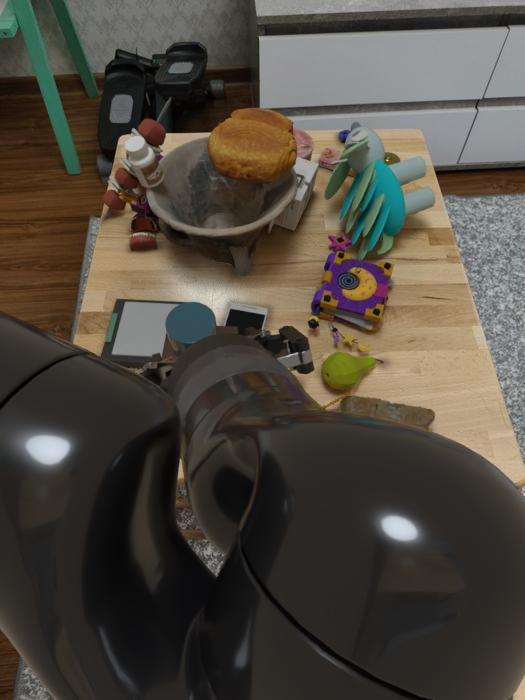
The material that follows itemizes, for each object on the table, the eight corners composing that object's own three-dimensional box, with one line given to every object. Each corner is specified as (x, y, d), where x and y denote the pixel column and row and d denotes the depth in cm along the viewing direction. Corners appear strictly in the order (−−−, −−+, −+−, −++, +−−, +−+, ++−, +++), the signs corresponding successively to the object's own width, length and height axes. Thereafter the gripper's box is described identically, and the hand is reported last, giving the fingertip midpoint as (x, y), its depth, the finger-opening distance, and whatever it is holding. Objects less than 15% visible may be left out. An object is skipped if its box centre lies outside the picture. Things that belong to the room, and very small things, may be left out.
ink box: (312, 195, 104) (289, 242, 97) (291, 188, 104) (267, 234, 97) (320, 163, 96) (296, 211, 89) (297, 155, 97) (271, 203, 90)
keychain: (315, 414, 77) (315, 418, 77) (311, 409, 77) (311, 413, 76) (355, 391, 74) (356, 395, 73) (351, 386, 74) (352, 390, 73)
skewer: (105, 224, 104) (175, 97, 93) (114, 236, 102) (187, 108, 91) (84, 217, 100) (155, 84, 89) (93, 230, 98) (167, 95, 87)
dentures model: (124, 238, 91) (127, 209, 96) (129, 253, 95) (132, 225, 99) (154, 237, 92) (156, 208, 96) (157, 253, 95) (159, 224, 100)
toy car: (139, 193, 88) (132, 217, 89) (177, 204, 99) (171, 226, 100) (117, 184, 90) (110, 208, 91) (157, 196, 101) (150, 217, 102)
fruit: (314, 350, 78) (370, 334, 83) (313, 383, 80) (368, 365, 86) (339, 366, 73) (397, 347, 78) (337, 400, 75) (393, 380, 81)
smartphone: (208, 375, 81) (208, 373, 80) (231, 304, 89) (230, 301, 88) (249, 384, 80) (249, 381, 80) (268, 311, 88) (268, 308, 87)
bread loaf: (197, 148, 76) (199, 185, 83) (293, 169, 75) (287, 204, 82) (219, 89, 82) (220, 128, 89) (308, 108, 81) (301, 146, 89)
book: (294, 337, 84) (299, 295, 74) (329, 238, 97) (336, 190, 86) (376, 359, 82) (392, 318, 72) (400, 255, 94) (417, 207, 84)
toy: (318, 158, 107) (326, 145, 109) (317, 165, 108) (325, 153, 111) (370, 174, 104) (377, 160, 106) (369, 181, 106) (375, 168, 108)
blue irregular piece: (334, 137, 114) (335, 127, 112) (348, 129, 115) (349, 119, 113) (362, 157, 110) (364, 147, 108) (376, 148, 112) (379, 138, 109)
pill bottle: (155, 191, 82) (137, 156, 75) (135, 185, 83) (116, 149, 77) (169, 173, 83) (153, 136, 76) (149, 167, 85) (131, 130, 78)
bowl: (223, 176, 107) (218, 113, 94) (319, 231, 98) (327, 169, 85) (133, 245, 96) (113, 184, 83) (231, 313, 87) (226, 257, 74)
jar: (172, 373, 64) (161, 341, 57) (179, 334, 67) (169, 300, 60) (218, 376, 64) (212, 344, 57) (223, 337, 67) (218, 302, 60)
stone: (428, 420, 76) (437, 404, 72) (427, 459, 73) (437, 445, 68) (339, 404, 78) (343, 388, 74) (334, 441, 75) (338, 427, 70)
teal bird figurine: (422, 92, 85) (337, 113, 80) (454, 233, 90) (377, 261, 85) (378, 120, 98) (303, 140, 93) (409, 242, 103) (339, 266, 98)
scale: (102, 366, 82) (98, 358, 80) (119, 305, 89) (115, 296, 86) (183, 370, 81) (181, 362, 79) (194, 308, 88) (192, 300, 86)
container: (309, 191, 104) (312, 160, 97) (261, 188, 104) (261, 157, 98) (311, 160, 109) (315, 128, 102) (266, 157, 110) (266, 125, 103)
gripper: (337, 315, 28) (270, 290, 43) (91, 385, 25) (113, 332, 41) (360, 430, 30) (288, 367, 45) (133, 505, 27) (139, 411, 43)
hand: (205, 350), depth 43 cm, fingers open, 8 cm apart
